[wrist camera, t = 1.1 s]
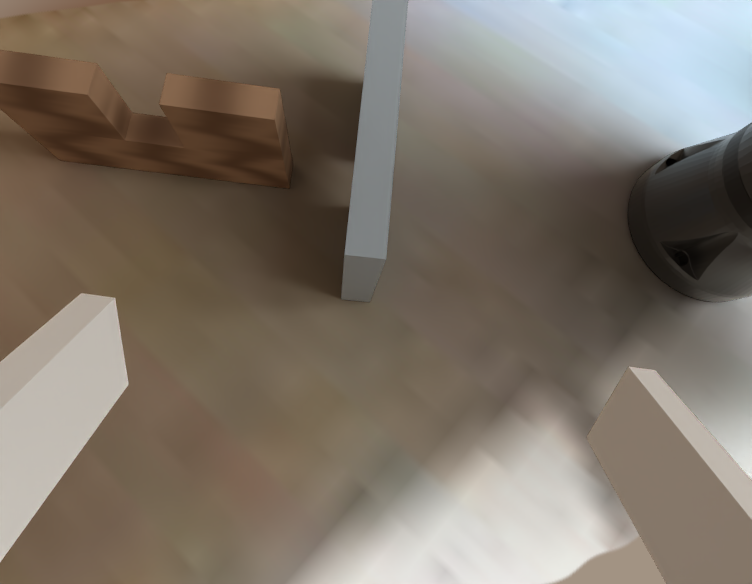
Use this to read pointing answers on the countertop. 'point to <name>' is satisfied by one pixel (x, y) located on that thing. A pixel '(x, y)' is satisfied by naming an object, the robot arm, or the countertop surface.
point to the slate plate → (375, 151)
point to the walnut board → (149, 122)
